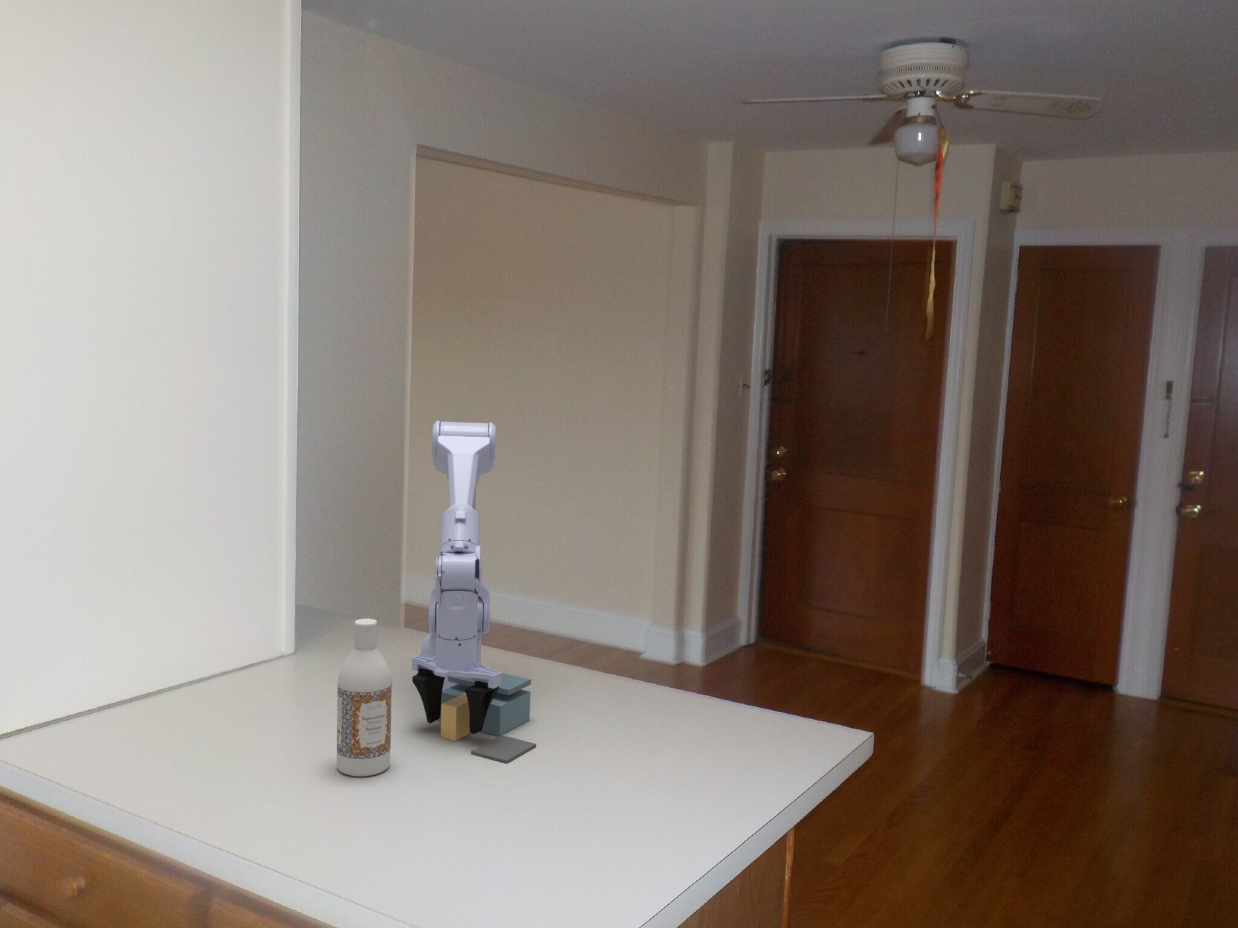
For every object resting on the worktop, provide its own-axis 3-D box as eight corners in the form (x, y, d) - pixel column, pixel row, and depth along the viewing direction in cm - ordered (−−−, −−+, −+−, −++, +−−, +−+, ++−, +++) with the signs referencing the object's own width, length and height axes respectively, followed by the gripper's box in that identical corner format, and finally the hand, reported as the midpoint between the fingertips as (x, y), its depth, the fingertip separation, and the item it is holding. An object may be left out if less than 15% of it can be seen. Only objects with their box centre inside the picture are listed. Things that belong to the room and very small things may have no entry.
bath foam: (347, 781, 140) (349, 630, 138) (329, 762, 146) (331, 617, 144) (398, 771, 144) (400, 624, 142) (378, 753, 150) (381, 612, 148)
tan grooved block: (440, 736, 157) (441, 703, 157) (477, 718, 165) (477, 686, 164) (455, 740, 156) (456, 707, 155) (491, 722, 164) (492, 690, 163)
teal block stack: (438, 720, 163) (439, 679, 163) (470, 705, 170) (471, 666, 170) (499, 736, 158) (500, 693, 158) (529, 720, 165) (530, 679, 165)
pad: (471, 753, 151) (471, 750, 151) (501, 737, 158) (501, 734, 158) (506, 763, 149) (507, 760, 148) (536, 746, 155) (536, 743, 155)
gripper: (399, 632, 156) (397, 723, 157) (482, 650, 149) (479, 745, 151) (429, 622, 162) (427, 710, 164) (511, 638, 155) (508, 730, 157)
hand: (454, 726), depth 158 cm, fingers open, 7 cm apart
